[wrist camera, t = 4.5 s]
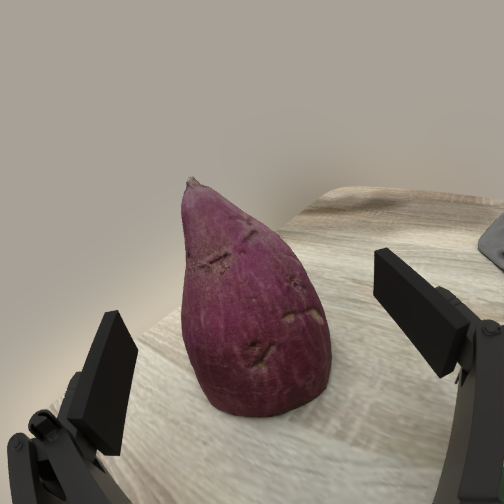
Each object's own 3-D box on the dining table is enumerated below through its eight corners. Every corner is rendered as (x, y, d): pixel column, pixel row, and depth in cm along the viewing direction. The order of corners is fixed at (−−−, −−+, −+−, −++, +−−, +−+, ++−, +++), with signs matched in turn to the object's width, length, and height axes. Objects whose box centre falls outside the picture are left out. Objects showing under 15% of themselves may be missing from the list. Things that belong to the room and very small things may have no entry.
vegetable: (193, 393, 23) (84, 239, 18) (275, 318, 28) (197, 172, 24) (272, 455, 14) (103, 227, 10) (369, 340, 20) (285, 130, 15)
